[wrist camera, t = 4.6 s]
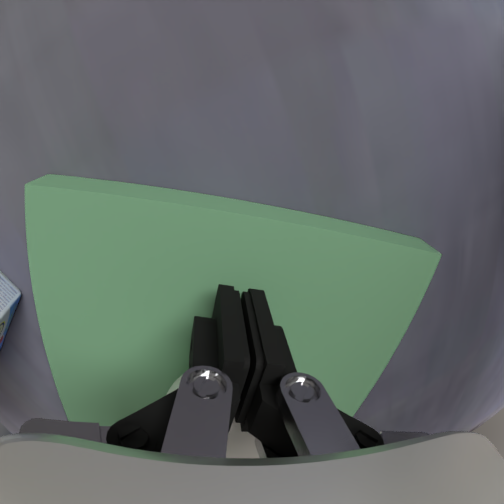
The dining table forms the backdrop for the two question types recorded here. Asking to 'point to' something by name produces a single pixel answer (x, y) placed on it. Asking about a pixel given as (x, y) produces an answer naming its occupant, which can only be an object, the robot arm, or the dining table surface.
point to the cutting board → (206, 288)
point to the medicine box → (7, 304)
